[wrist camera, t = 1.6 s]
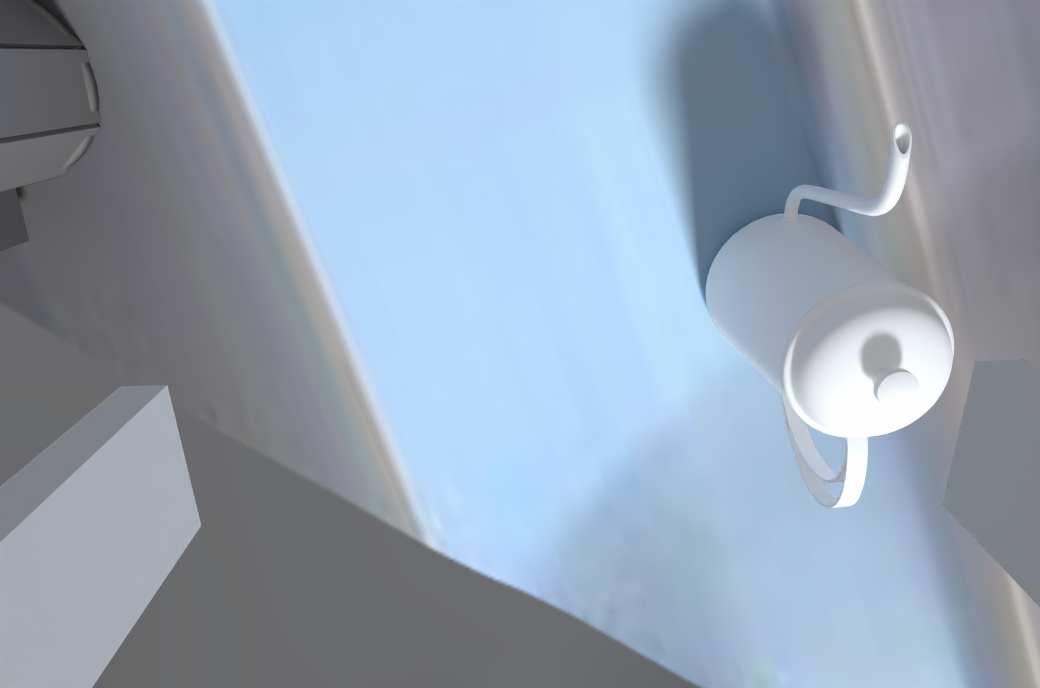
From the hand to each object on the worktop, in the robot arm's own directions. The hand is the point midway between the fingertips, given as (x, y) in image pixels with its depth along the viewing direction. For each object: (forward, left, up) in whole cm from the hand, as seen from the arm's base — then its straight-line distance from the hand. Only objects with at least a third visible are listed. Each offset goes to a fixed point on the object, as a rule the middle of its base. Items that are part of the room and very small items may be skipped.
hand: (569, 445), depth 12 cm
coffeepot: (+9, +18, -41) cm, 46 cm away
